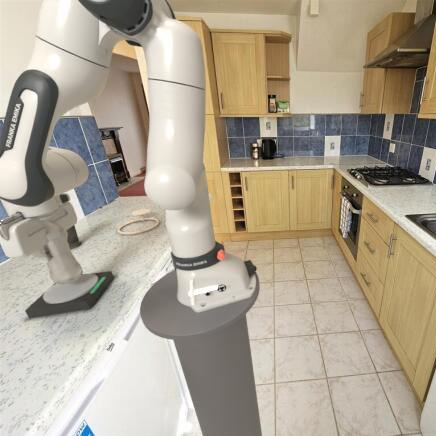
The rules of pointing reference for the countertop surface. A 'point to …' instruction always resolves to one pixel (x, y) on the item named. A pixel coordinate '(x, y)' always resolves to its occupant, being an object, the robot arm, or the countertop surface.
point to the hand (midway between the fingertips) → (56, 254)
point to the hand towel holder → (141, 214)
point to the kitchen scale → (71, 295)
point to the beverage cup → (72, 237)
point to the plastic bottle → (60, 255)
